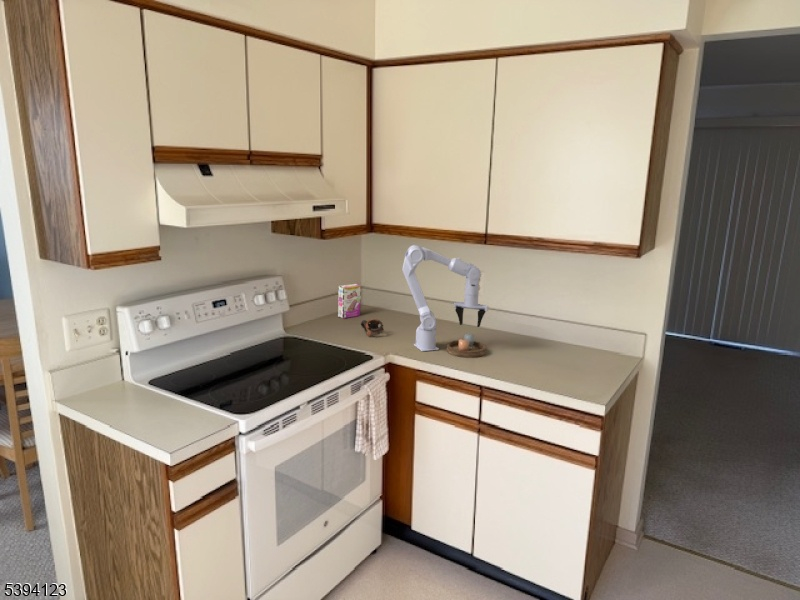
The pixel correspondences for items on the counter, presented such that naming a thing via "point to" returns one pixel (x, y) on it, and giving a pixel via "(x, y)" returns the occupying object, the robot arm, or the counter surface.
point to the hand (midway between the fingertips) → (469, 325)
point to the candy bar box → (349, 300)
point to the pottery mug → (372, 326)
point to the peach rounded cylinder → (463, 345)
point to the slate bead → (469, 339)
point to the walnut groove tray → (472, 352)
